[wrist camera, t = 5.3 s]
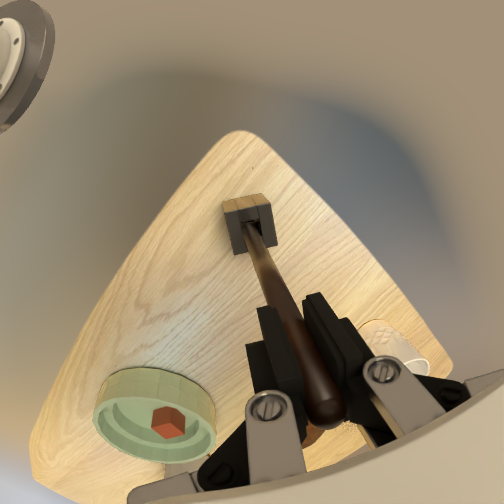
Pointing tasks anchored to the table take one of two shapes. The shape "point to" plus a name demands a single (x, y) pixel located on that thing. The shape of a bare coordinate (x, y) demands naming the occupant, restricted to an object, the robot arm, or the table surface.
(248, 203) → the holder
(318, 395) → the chopstick
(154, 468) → the table surface
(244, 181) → the table surface
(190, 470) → the jar
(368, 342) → the white cup
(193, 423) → the bowl
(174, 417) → the block
